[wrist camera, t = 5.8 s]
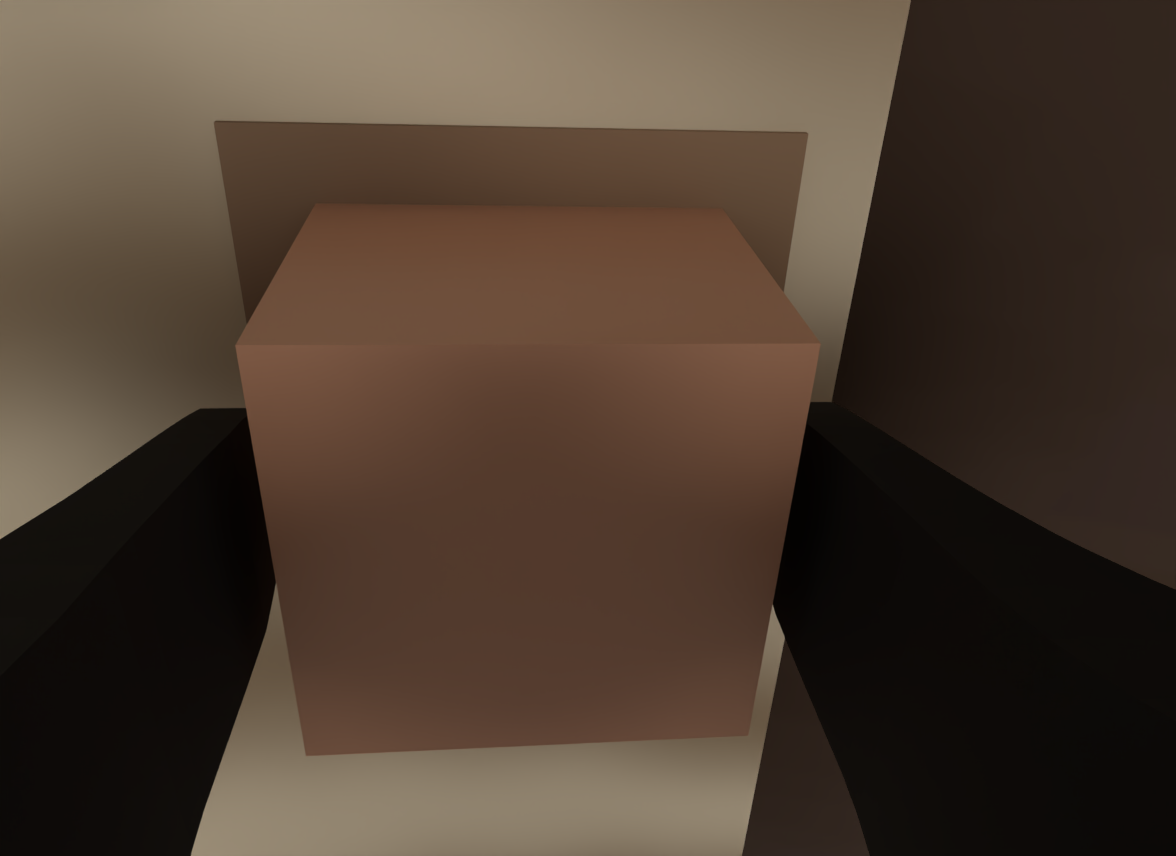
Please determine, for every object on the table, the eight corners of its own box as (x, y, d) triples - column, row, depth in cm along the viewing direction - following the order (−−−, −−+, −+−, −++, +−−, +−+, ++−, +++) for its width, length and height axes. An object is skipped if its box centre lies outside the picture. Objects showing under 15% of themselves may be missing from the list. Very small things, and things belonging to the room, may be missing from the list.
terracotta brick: (685, 528, 14) (748, 735, 11) (353, 535, 13) (305, 756, 10) (722, 208, 11) (821, 343, 8) (316, 203, 11) (235, 345, 8)
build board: (729, 819, 19) (741, 866, 18) (-15, 860, 18) (-43, 914, 17) (1041, -905, 8) (1116, -1014, 7) (-985, -1183, 6) (-1247, -1377, 5)
